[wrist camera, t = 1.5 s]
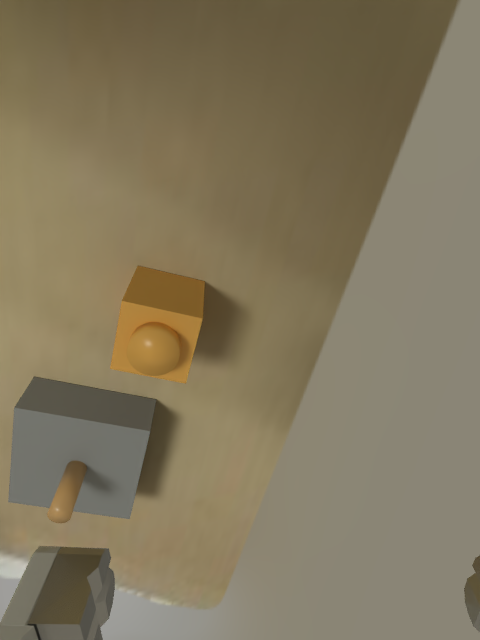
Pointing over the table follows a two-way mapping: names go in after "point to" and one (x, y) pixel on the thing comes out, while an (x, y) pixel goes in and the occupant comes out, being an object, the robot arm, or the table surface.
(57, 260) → the table surface
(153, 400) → the box
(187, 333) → the orange cube with knob
